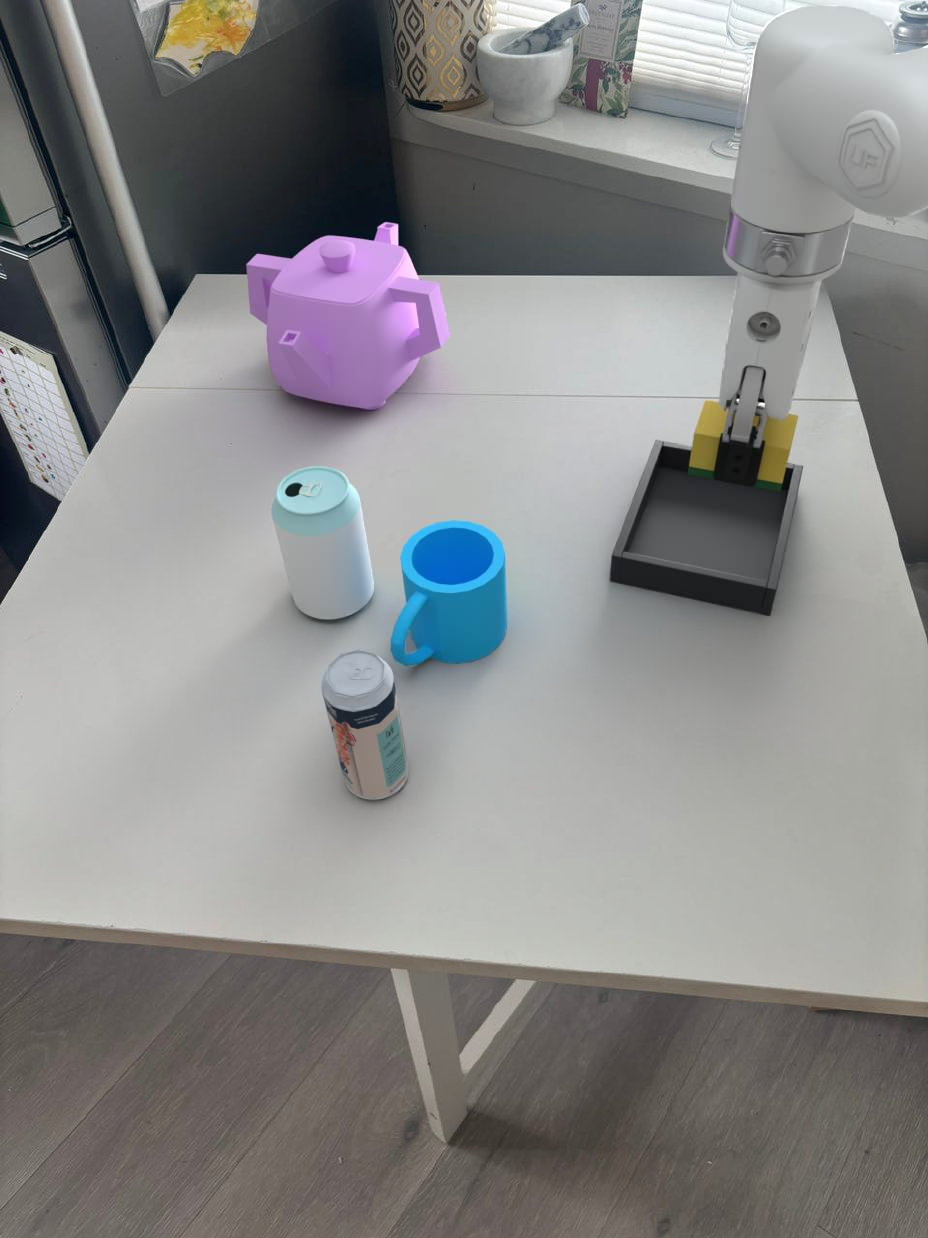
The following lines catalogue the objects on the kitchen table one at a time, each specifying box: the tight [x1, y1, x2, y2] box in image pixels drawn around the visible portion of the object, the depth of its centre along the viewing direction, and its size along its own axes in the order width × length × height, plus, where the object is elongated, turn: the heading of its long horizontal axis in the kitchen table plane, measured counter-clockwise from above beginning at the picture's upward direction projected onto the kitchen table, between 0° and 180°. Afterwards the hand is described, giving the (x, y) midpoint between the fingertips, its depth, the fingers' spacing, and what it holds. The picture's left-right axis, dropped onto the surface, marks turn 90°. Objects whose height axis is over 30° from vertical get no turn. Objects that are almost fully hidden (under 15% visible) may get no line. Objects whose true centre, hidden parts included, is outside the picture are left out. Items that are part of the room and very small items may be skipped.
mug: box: [390, 519, 508, 667], centre depth 79 cm, size 12×8×8 cm
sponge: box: [688, 399, 799, 491], centre depth 76 cm, size 7×4×4 cm, turn 70°
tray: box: [609, 439, 804, 617], centre depth 88 cm, size 14×17×3 cm
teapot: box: [245, 221, 451, 411], centre depth 103 cm, size 19×18×15 cm
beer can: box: [320, 648, 409, 801], centre depth 69 cm, size 5×5×12 cm
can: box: [271, 465, 375, 620], centre depth 82 cm, size 7×7×12 cm
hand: (740, 458), depth 77 cm, fingers closed on sponge, 4 cm apart
